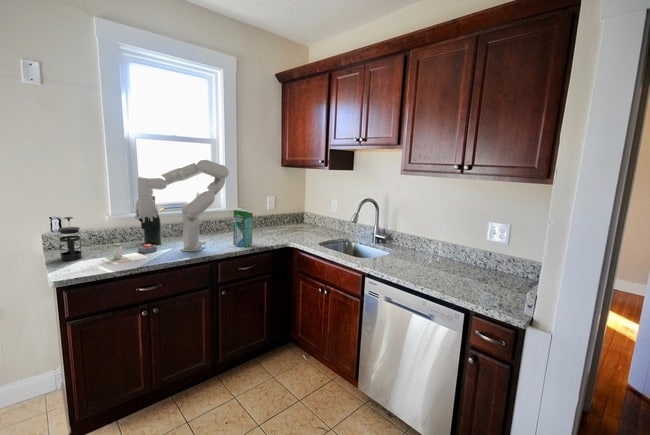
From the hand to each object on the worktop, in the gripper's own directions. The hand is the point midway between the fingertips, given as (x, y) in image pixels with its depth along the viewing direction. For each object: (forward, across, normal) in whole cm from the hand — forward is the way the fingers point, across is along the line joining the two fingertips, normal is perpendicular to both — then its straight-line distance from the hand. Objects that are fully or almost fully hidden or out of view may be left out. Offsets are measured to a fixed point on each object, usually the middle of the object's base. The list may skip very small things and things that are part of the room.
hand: (146, 228), depth 189 cm
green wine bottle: (+15, -14, -19) cm, 28 cm away
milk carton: (+15, -51, +27) cm, 60 cm away
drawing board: (+15, +15, +5) cm, 22 cm away
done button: (+13, 0, 0) cm, 13 cm away
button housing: (+15, 0, 0) cm, 15 cm away
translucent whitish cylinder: (+14, +18, +3) cm, 23 cm away
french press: (+15, +32, -17) cm, 39 cm away
